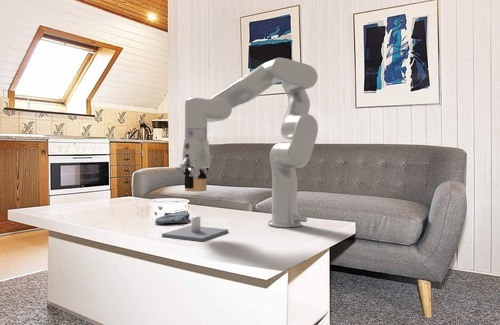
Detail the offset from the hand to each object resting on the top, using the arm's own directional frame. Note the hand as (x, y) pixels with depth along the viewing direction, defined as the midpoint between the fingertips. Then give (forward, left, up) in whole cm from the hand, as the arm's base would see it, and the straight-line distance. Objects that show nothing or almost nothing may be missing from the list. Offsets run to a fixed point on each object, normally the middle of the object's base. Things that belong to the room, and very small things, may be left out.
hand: (195, 187), depth 136 cm
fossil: (+21, -17, -17) cm, 32 cm away
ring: (0, 0, -1) cm, 1 cm away
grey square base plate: (0, 0, -16) cm, 16 cm away
